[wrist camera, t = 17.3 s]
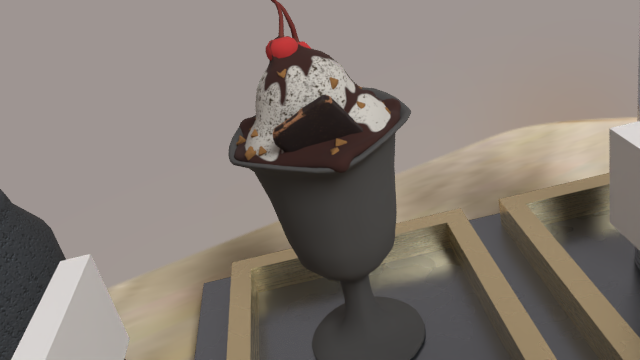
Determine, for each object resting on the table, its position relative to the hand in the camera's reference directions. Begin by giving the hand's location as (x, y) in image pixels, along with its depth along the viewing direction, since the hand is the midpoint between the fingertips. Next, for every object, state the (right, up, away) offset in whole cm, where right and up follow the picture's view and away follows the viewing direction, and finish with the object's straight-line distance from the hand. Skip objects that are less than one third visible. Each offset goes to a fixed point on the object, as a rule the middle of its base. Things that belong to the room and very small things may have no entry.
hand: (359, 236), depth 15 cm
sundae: (+1, -6, +11) cm, 13 cm away
